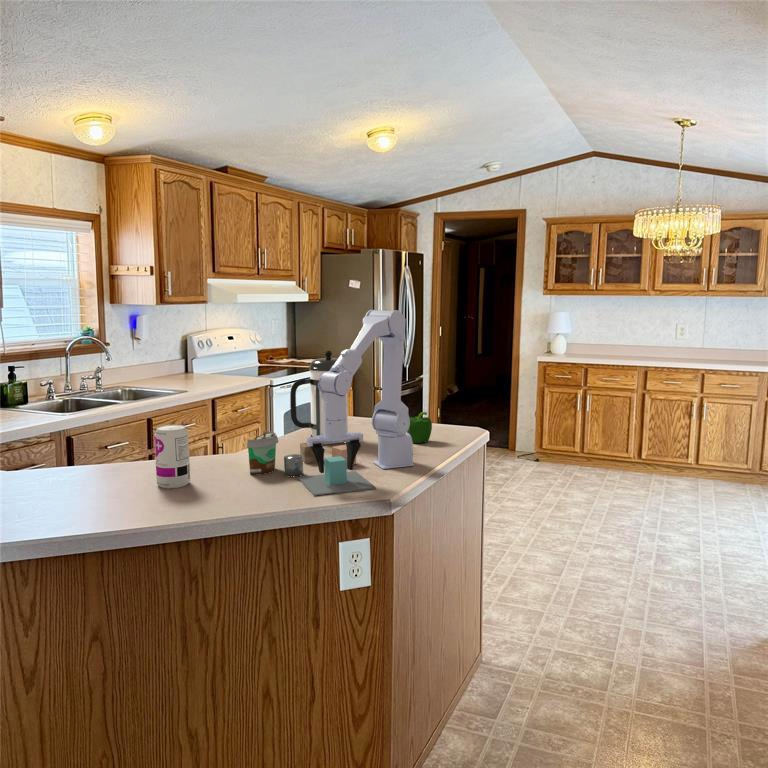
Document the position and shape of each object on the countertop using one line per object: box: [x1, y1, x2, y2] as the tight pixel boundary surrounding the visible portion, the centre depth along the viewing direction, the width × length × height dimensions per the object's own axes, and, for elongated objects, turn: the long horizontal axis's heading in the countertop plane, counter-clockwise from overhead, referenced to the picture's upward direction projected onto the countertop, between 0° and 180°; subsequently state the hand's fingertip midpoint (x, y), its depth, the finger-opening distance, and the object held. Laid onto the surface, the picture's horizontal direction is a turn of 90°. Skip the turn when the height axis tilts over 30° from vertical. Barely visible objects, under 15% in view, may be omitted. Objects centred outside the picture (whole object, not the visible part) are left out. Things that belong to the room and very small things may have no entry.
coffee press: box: [289, 349, 349, 437], centre depth 217 cm, size 17×16×30 cm
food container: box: [246, 430, 279, 476], centre depth 184 cm, size 12×6×10 cm, turn 168°
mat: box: [297, 470, 377, 497], centre depth 172 cm, size 16×16×1 cm
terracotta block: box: [331, 444, 357, 466], centre depth 191 cm, size 5×5×5 cm
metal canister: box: [283, 453, 304, 478], centre depth 181 cm, size 5×5×5 cm
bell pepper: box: [406, 411, 433, 444], centre depth 218 cm, size 8×8×10 cm
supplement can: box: [153, 424, 191, 489], centre depth 171 cm, size 8×8×15 cm
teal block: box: [324, 456, 348, 485], centre depth 172 cm, size 4×4×6 cm
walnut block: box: [299, 442, 317, 464], centre depth 195 cm, size 5×5×5 cm
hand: (335, 470), depth 172 cm, fingers open, 7 cm apart
